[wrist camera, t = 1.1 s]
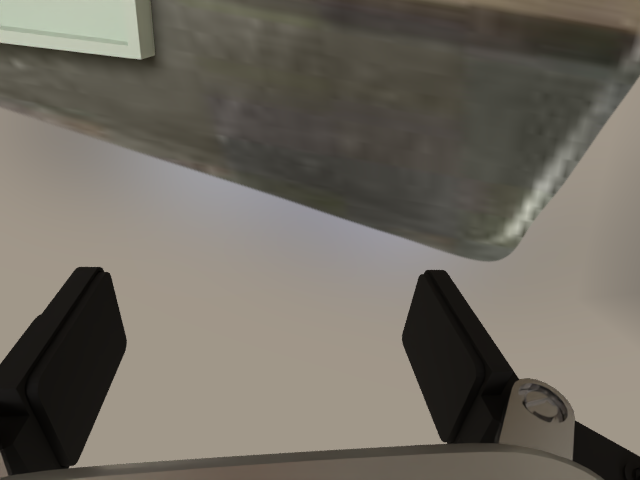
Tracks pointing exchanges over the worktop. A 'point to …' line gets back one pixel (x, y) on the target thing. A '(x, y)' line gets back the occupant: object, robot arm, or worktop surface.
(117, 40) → the grey platform with tray
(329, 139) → the worktop surface
